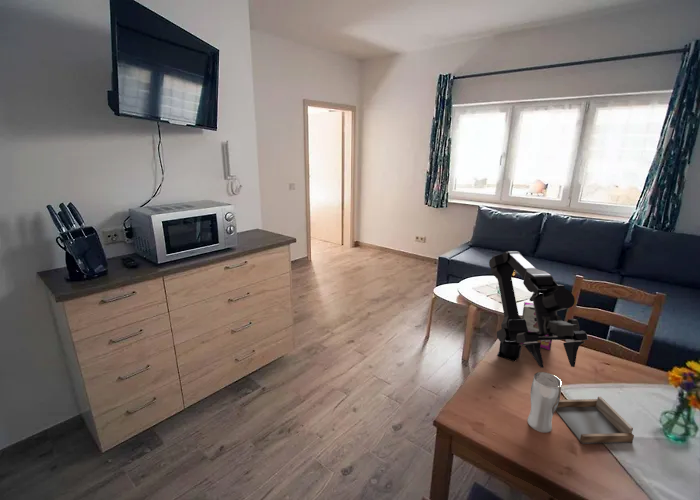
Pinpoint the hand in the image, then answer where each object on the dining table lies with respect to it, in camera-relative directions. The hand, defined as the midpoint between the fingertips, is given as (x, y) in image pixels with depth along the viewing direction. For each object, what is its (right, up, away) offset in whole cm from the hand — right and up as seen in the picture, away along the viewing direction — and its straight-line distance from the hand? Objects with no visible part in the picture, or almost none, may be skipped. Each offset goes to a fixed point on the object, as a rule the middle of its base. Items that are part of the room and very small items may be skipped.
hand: (557, 367), depth 98 cm
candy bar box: (+13, -3, +36) cm, 38 cm away
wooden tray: (+7, -15, -3) cm, 17 cm away
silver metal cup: (-7, -15, -3) cm, 17 cm away
